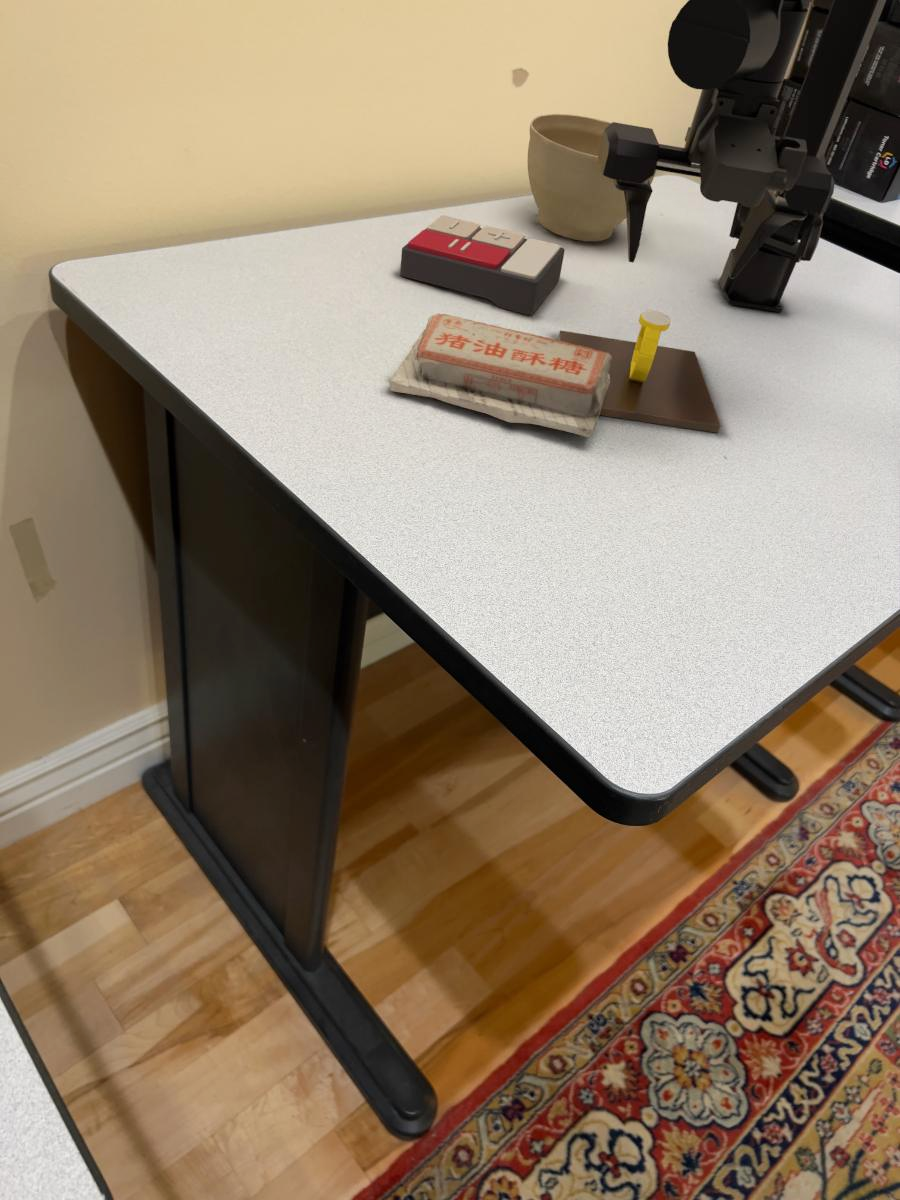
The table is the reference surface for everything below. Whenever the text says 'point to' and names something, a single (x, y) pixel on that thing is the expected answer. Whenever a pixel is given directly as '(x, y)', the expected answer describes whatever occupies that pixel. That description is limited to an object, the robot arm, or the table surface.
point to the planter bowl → (572, 178)
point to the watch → (647, 343)
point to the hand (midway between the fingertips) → (681, 268)
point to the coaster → (654, 386)
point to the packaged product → (507, 374)
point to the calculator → (484, 263)
